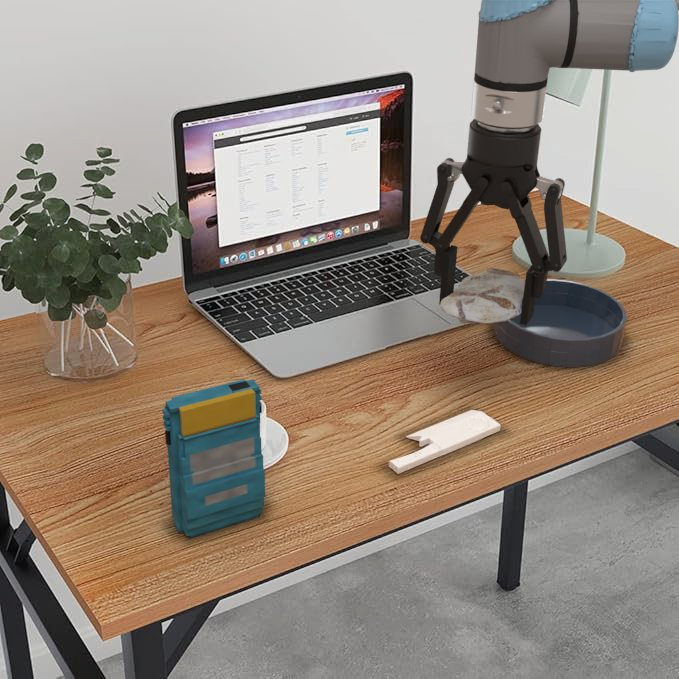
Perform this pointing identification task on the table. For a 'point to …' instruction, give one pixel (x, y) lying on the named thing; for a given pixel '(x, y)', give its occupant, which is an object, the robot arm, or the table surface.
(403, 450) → the table surface
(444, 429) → the white plastic strip tool
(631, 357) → the table surface
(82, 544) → the table surface
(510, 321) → the bowl
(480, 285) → the stone
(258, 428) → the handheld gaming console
